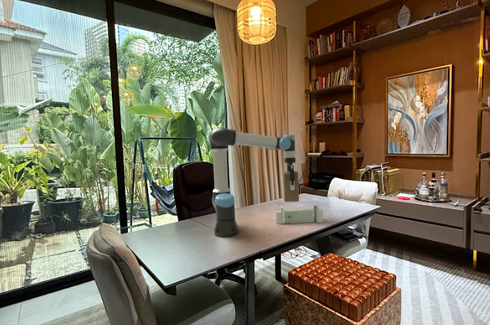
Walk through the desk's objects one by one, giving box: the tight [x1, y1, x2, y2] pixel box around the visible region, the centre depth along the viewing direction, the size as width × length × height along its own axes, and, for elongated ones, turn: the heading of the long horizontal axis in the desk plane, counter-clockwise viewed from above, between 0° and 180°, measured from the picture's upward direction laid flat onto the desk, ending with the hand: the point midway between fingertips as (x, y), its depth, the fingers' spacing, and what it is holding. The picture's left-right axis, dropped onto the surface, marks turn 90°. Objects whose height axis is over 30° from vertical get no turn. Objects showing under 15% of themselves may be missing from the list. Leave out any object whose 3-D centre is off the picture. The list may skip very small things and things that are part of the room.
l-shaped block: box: [275, 205, 324, 225], centre depth 176 cm, size 31×2×11 cm, turn 89°
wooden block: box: [282, 170, 300, 203], centre depth 185 cm, size 10×10×20 cm
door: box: [283, 209, 314, 224], centre depth 175 cm, size 19×3×8 cm, turn 89°
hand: (291, 188), depth 185 cm, fingers closed on wooden block, 11 cm apart
